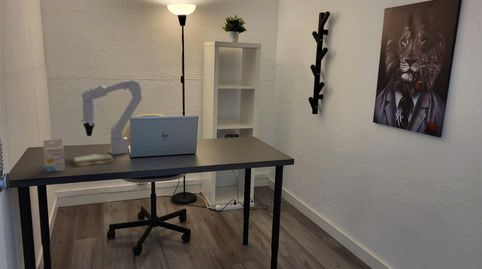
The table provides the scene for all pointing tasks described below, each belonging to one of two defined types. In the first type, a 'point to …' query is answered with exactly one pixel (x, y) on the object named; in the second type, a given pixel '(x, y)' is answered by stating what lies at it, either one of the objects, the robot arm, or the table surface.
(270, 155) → the table surface
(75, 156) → the base leaf
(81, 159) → the hinge leaf
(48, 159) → the ink box
